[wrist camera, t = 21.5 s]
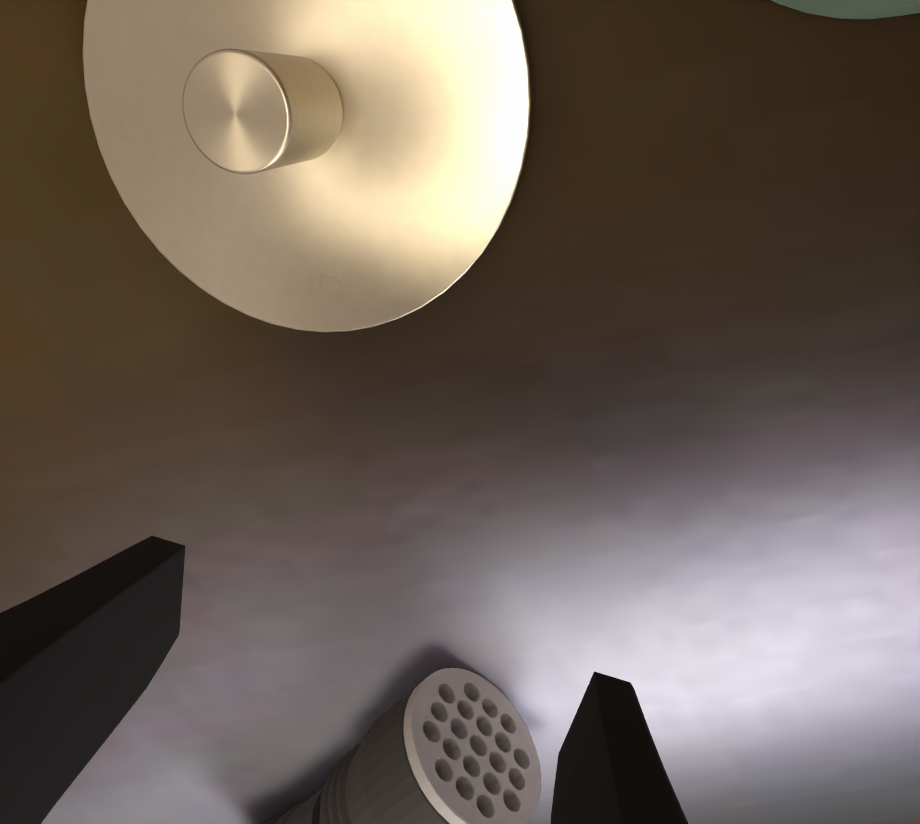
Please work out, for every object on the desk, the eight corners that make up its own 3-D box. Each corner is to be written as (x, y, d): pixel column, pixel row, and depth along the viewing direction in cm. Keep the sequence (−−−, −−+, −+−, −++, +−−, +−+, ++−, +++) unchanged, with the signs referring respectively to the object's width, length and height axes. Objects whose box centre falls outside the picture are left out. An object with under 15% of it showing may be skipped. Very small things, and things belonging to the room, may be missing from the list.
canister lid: (595, -102, 16) (596, -169, 12) (473, 367, 21) (444, 433, 17) (109, -219, 16) (-49, -321, 12) (106, 262, 21) (-6, 302, 17)
